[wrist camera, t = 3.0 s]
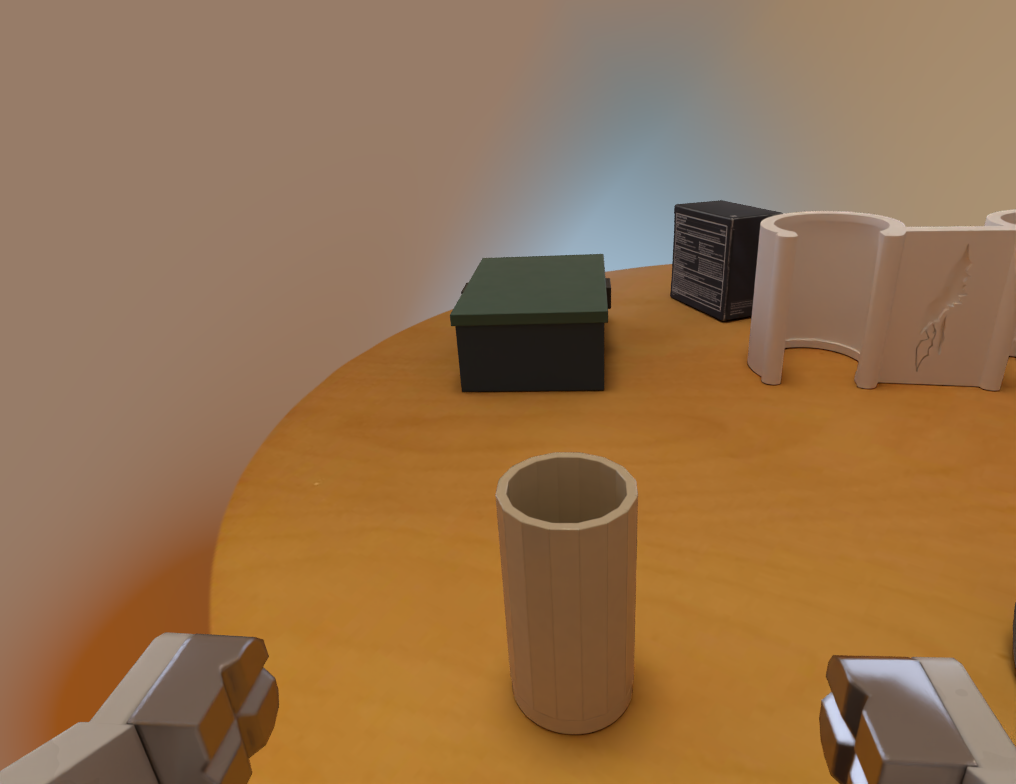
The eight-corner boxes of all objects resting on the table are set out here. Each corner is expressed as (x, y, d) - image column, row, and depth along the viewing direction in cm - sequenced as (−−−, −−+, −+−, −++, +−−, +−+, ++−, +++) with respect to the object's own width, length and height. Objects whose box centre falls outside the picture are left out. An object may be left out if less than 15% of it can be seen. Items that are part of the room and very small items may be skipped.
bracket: (1052, 350, 58) (1095, 205, 53) (1113, 399, 49) (1171, 232, 44) (743, 341, 64) (755, 211, 59) (751, 384, 55) (765, 235, 50)
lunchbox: (613, 392, 56) (613, 310, 53) (452, 393, 57) (444, 314, 54) (607, 318, 72) (607, 253, 70) (483, 321, 74) (478, 258, 71)
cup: (506, 731, 27) (487, 528, 23) (518, 635, 32) (504, 452, 28) (636, 738, 27) (642, 530, 23) (629, 639, 31) (632, 451, 27)
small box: (776, 313, 71) (788, 211, 66) (723, 323, 69) (731, 219, 64) (716, 288, 80) (722, 197, 75) (667, 297, 78) (671, 203, 74)
